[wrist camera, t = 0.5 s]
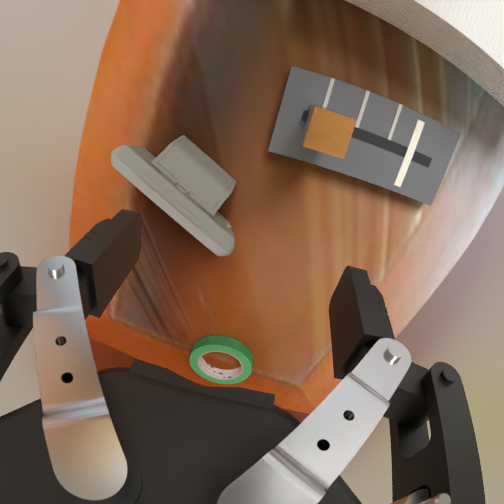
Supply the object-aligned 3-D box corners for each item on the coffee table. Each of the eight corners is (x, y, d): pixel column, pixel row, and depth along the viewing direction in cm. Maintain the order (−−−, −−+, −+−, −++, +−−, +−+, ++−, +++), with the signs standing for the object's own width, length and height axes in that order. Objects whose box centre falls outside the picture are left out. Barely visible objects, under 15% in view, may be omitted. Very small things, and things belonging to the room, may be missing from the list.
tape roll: (264, 349, 53) (262, 360, 51) (238, 380, 59) (236, 391, 57) (204, 324, 52) (200, 335, 50) (185, 359, 58) (182, 370, 55)
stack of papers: (532, 57, 23) (583, 64, 14) (511, 114, 28) (561, 133, 19) (327, -78, 20) (338, -120, 11) (296, -19, 25) (298, -53, 16)
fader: (308, 100, 30) (315, 106, 23) (341, 110, 31) (356, 120, 24) (299, 131, 32) (303, 146, 25) (331, 141, 32) (343, 159, 25)
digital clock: (129, 151, 38) (85, 177, 29) (180, 107, 34) (143, 119, 25) (204, 243, 44) (182, 291, 35) (259, 210, 40) (249, 254, 31)
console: (291, 66, 31) (291, 65, 29) (452, 130, 31) (460, 133, 30) (269, 147, 36) (268, 151, 34) (425, 199, 37) (431, 206, 35)
